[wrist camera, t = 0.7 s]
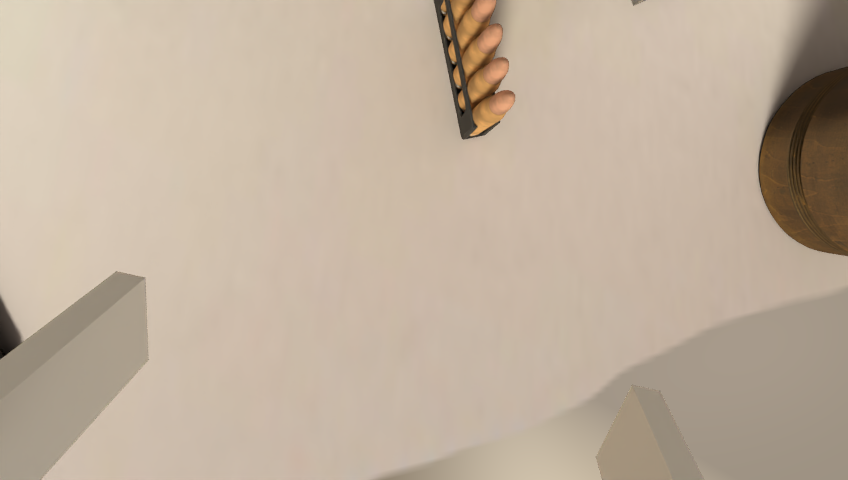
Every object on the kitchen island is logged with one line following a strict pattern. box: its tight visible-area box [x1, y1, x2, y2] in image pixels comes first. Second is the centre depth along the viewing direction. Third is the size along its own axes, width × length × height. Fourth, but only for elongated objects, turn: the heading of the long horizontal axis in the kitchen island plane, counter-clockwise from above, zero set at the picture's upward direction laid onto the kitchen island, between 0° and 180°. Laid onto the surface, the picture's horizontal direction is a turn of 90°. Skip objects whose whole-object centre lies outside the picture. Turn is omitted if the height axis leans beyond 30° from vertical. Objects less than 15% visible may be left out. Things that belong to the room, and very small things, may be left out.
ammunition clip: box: [434, 0, 515, 140], centre depth 32 cm, size 11×2×12 cm, turn 12°
